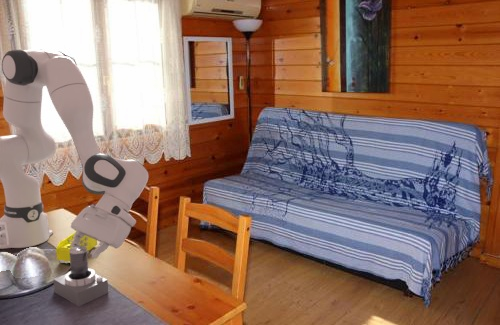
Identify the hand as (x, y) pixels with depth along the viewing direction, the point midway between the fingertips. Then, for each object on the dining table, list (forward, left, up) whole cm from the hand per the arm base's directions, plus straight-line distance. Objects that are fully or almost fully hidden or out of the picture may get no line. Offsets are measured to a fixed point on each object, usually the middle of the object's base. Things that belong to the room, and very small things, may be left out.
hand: (82, 252), depth 115 cm
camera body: (0, -1, -12) cm, 12 cm away
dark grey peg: (0, -1, -8) cm, 8 cm away
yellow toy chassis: (-23, +12, -12) cm, 28 cm away
